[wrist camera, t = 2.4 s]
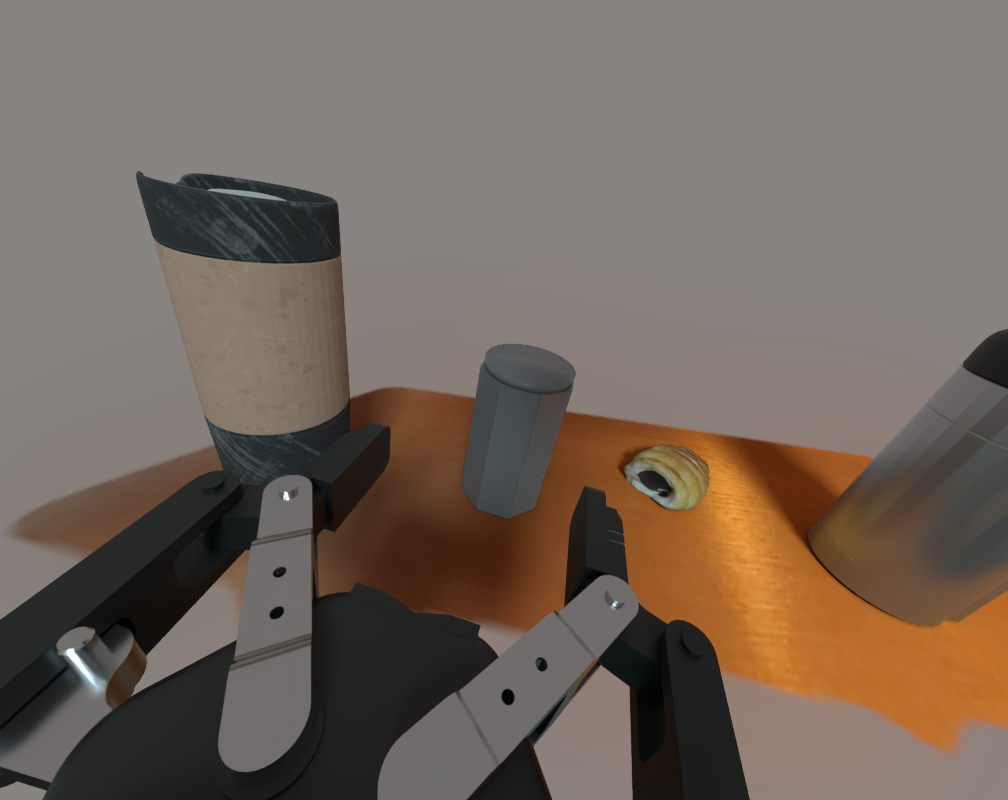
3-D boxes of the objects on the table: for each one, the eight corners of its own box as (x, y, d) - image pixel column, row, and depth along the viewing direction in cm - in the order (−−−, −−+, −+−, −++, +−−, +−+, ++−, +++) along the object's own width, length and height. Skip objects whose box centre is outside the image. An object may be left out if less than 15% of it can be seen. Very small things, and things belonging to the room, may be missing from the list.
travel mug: (373, 503, 27) (369, 210, 17) (257, 563, 22) (151, 187, 12) (327, 450, 31) (301, 186, 21) (219, 489, 26) (115, 161, 16)
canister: (541, 473, 33) (577, 357, 27) (530, 525, 28) (573, 395, 22) (476, 454, 34) (497, 337, 28) (453, 502, 28) (473, 369, 22)
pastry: (660, 449, 41) (674, 422, 39) (718, 486, 37) (737, 459, 35) (615, 477, 35) (629, 448, 33) (678, 526, 31) (699, 495, 29)
